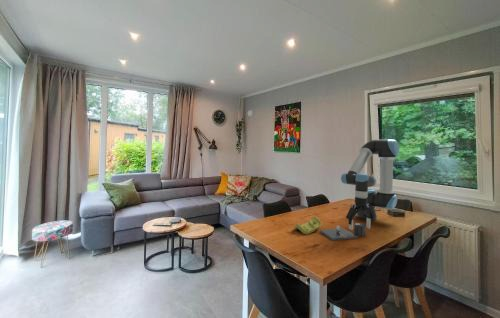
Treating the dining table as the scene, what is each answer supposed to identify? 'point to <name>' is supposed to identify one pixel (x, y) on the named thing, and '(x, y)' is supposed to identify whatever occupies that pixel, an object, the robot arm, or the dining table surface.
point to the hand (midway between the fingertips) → (359, 228)
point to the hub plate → (338, 234)
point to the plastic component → (309, 226)
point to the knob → (359, 229)
